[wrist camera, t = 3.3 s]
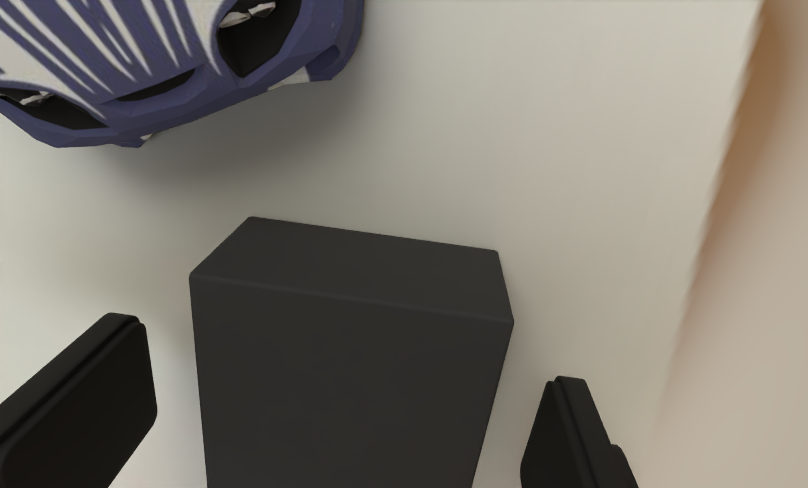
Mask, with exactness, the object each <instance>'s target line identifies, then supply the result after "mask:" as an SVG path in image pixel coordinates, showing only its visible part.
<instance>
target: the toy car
mask: <svg viewBox="0 0 808 488" xmlns="http://www.w3.org/2000/svg"><path fill="white" fill-rule="evenodd" d="M363 6H364V0H0V113H2V114H3V115H4V116H6V117H7V118H8V119H9V120H11V121H12V122H13V123H15V124H16V125H17V126H19V127H20V128H21V129H23V130H24V131H25V132H27V133H28V134H29V135H30V136H32V137H33V138H34V139H36V140H38V141H41V142H43V143H46V144H48V145H50V146H53V147H56V148H64V147H87V146H98V145H104V144H115V145H118V146H121V147H133V148H139V147H141V146H142V145H143V144H144V143H145V142H146V140H147V139H148V138H149V137H150V136H151V135H152V134H153V133H156V132H159V131H163V130H166V129H169V128H173V127H176V126H180V125H183V124H186V123H190V122H193V121H195V120H198V119H200V118H202V117H205V116H207V115H210V114H212V113H215V112H217V111H219V110H222V109H224V108H227V107H229V106H232V105H234V104H236V103H239V102H241V101H244V100H246V99H249V98H251V97H254V96H257V95H259V94H262V93H264V92H267V91H270V90H272V89H275V88H278V87H280V86H283V85H285V84H295V83H304V82H314V81H324V80H331V79H332V78H333V77H335V76H336V75H337V74H338V73H339V72H340V71H341V70H342V69H343V68H344V66H345V65H346V63H347V62H348V60H349V59H350V57H351V56H352V54H353V53H354V50H355V47H356V44H357V41H358V39H359V36H360V31H361V23H362V15H363Z"/></svg>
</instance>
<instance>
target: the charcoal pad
mask: <svg viewBox="0 0 808 488" xmlns="http://www.w3.org/2000/svg"><path fill="white" fill-rule="evenodd" d="M189 285H190V296H191V308H192V319H193V330H194V341H195V353H196V364H197V375H198V386H199V398H200V409H201V420H202V431H203V443H204V454H205V465H206V476H207V488H471V487H472V484H473V480H474V476H475V472H476V468H477V464H478V460H479V457H480V453H481V449H482V445H483V441H484V437H485V433H486V430H487V426H488V422H489V418H490V414H491V410H492V406H493V403H494V399H495V395H496V391H497V387H498V383H499V380H500V376H501V372H502V368H503V364H504V360H505V356H506V353H507V349H508V345H509V341H510V337H511V333H512V329H513V326H514V319H513V315H512V310H511V306H510V302H509V298H508V293H507V289H506V285H505V281H504V277H503V272H502V268H501V264H500V260H499V255H498V252H497V251H495V250H488V249H481V248H474V247H466V246H459V245H452V244H445V243H438V242H431V241H424V240H416V239H409V238H402V237H395V236H388V235H381V234H373V233H366V232H359V231H352V230H345V229H338V228H330V227H323V226H316V225H309V224H302V223H295V222H287V221H280V220H273V219H266V218H259V217H248V218H247V219H246V220H245V221H244V222H243V223H242V224H241V225H240V226H239V227H238V228H237V229H236V230H235V231H234V232H233V233H232V234H231V235H230V236H228V237H227V238H226V239H225V240H224V241H223V242H222V243H221V244H220V245H219V246H218V247H217V248H216V249H215V250H214V251H213V252H212V253H211V254H210V255H209V256H208V257H206V258H205V259H204V260H203V261H202V262H201V263H200V264H199V265H198V266H197V267H196V268H195V269H194V270H193V271H192V272H191V273H190V275H189Z"/></svg>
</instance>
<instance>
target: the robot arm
mask: <svg viewBox="0 0 808 488" xmlns="http://www.w3.org/2000/svg"><path fill="white" fill-rule="evenodd" d="M156 417H157V403H156V396H155V389H154V382H153V375H152V368H151V361H150V354H149V347H148V340H147V333H146V328H145V325H144V324H142V323H140V321H139V319H138V318H137V317H136V316H132V315H125V314H118V313H107V314H106V315H104V316H103V317H102V318H100V319H99V320H98V321H97V322H96V323H95V324H93V325H92V326H91V327H90V328H89V329H88V330H86V331H85V332H84V333H83V334H82V335H81V336H79V337H78V338H77V339H76V340H75V341H74V342H72V343H71V344H70V345H69V346H68V347H67V348H65V349H64V350H63V351H62V352H61V353H60V354H58V355H57V356H56V357H55V358H54V359H53V360H51V361H50V362H49V363H48V364H47V365H46V366H44V367H43V368H42V369H41V370H40V371H39V372H37V373H36V374H35V375H34V376H33V377H32V378H30V379H29V380H28V381H27V382H26V383H24V384H23V385H22V386H21V387H20V388H19V389H17V390H16V391H15V392H14V393H13V394H12V395H10V396H9V397H8V398H7V399H6V400H5V401H3V402H2V403H1V404H0V488H108V487H109V486H110V484H111V483H112V481H113V480H114V479H115V477H116V476H117V474H118V473H119V472H120V470H121V469H122V468H123V466H124V465H125V463H126V462H127V461H128V459H129V458H130V457H131V455H132V454H133V452H134V451H135V450H136V448H137V447H138V445H139V444H140V443H141V441H142V440H143V439H144V437H145V436H146V434H147V433H148V432H149V430H150V429H151V428H152V426H153V424H154V422H155V420H156ZM520 478H521V485H522V488H639V487H638V485H637V483H636V480H635V478H634V476H633V473H632V471H631V468H630V466H629V464H628V461H627V459H626V457H625V455H624V453H623V451H622V449H621V448H620V447H619V446H618V445H614V444H611V443H610V440H609V438H608V435H607V433H606V431H605V428H604V426H603V423H602V421H601V418H600V416H599V413H598V411H597V408H596V406H595V403H594V401H593V398H592V396H591V393H590V391H589V389H588V386H587V384H586V382H585V380H583V379H579V378H572V377H565V376H557V377H556V378H555V380H554V381H548V382H547V383H546V386H545V389H544V392H543V395H542V399H541V402H540V405H539V408H538V411H537V414H536V418H535V421H534V424H533V427H532V430H531V433H530V436H529V440H528V443H527V446H526V449H525V452H524V455H523V458H522V462H521V468H520Z"/></svg>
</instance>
